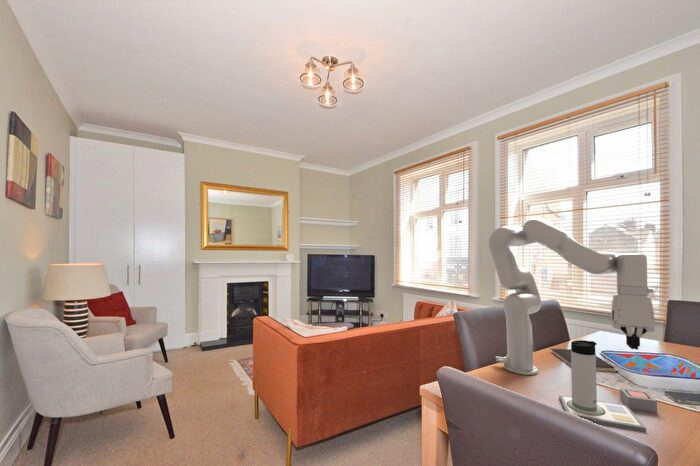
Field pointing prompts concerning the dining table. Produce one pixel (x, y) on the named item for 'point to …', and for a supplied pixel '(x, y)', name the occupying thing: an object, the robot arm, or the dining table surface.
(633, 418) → the picture board
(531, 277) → the robot arm
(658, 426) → the dining table surface
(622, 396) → the button housing
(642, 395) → the button
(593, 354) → the travel mug
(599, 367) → the hardcover book
